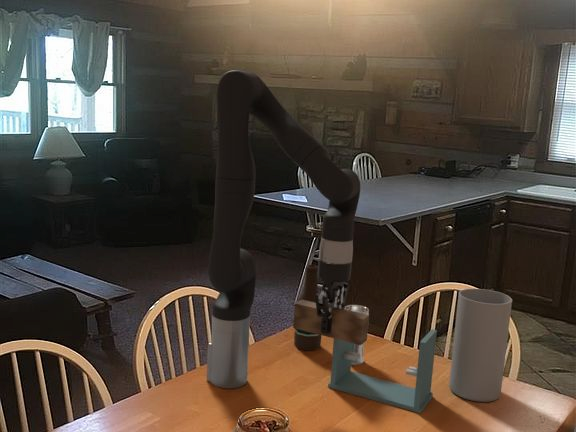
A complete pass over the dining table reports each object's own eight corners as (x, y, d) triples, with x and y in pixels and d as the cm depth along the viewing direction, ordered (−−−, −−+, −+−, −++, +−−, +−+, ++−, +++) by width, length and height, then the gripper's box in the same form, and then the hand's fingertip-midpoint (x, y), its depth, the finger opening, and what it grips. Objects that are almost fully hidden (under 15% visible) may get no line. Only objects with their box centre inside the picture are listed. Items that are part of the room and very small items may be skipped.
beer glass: (338, 363, 170) (342, 310, 167) (342, 354, 176) (345, 303, 174) (363, 367, 168) (368, 314, 165) (366, 357, 175) (370, 306, 172)
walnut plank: (293, 327, 146) (294, 303, 145) (300, 323, 149) (301, 299, 148) (360, 345, 138) (363, 319, 137) (366, 340, 141) (369, 315, 140)
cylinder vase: (485, 408, 148) (497, 307, 144) (439, 390, 157) (449, 294, 152) (509, 393, 157) (520, 297, 153) (463, 376, 166) (473, 285, 161)
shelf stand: (327, 387, 155) (332, 321, 152) (343, 373, 164) (348, 311, 161) (420, 413, 144) (427, 343, 141) (432, 396, 153) (439, 330, 150)
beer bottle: (308, 339, 186) (313, 261, 182) (326, 347, 180) (331, 267, 176) (288, 344, 181) (292, 264, 177) (305, 353, 175) (311, 270, 171)
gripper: (333, 249, 148) (327, 318, 151) (306, 261, 136) (300, 335, 139) (362, 255, 145) (356, 325, 148) (338, 267, 133) (331, 343, 136)
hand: (329, 330), depth 144 cm, fingers closed on walnut plank, 3 cm apart
